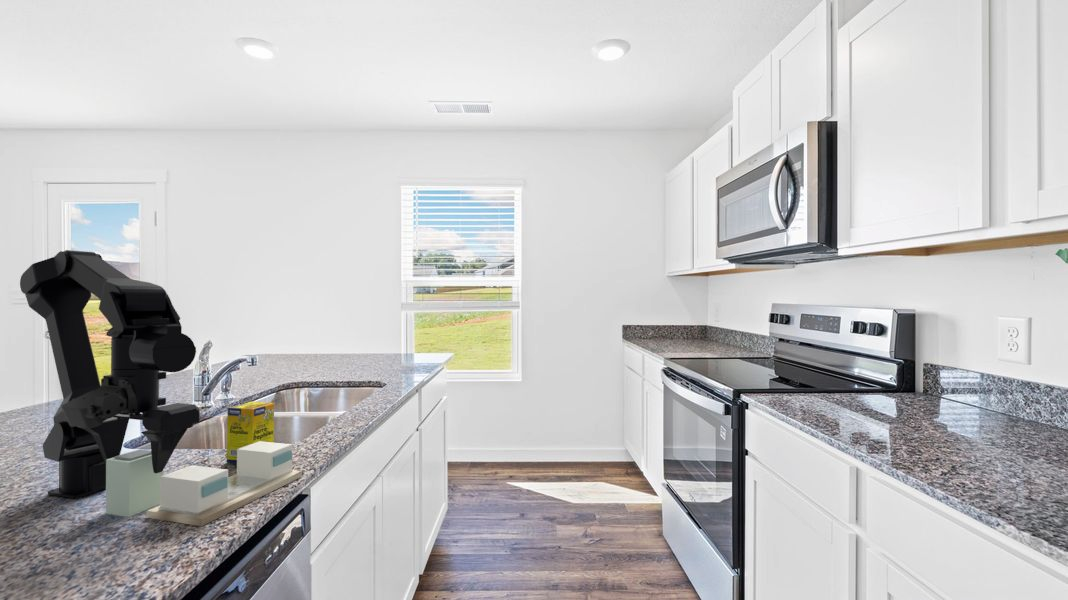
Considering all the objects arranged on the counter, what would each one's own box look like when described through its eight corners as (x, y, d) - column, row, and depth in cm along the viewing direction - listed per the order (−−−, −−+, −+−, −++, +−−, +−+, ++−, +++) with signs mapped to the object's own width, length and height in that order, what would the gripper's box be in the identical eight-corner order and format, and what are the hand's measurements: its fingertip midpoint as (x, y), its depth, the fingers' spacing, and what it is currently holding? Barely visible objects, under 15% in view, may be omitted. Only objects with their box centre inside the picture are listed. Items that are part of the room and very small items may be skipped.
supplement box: (252, 466, 94) (252, 408, 94) (225, 463, 95) (226, 407, 95) (274, 456, 100) (275, 402, 100) (249, 454, 101) (249, 400, 101)
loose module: (105, 513, 73) (106, 457, 73) (140, 500, 78) (140, 447, 78) (128, 517, 72) (129, 460, 72) (162, 503, 77) (162, 450, 77)
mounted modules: (160, 507, 72) (160, 476, 72) (259, 465, 90) (259, 441, 90) (200, 513, 70) (200, 481, 70) (293, 469, 88) (294, 444, 88)
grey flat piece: (158, 510, 72) (158, 507, 72) (260, 467, 90) (260, 465, 90) (196, 516, 70) (196, 513, 70) (292, 471, 88) (292, 468, 88)
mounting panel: (146, 517, 72) (146, 510, 72) (255, 471, 91) (255, 465, 91) (201, 526, 69) (201, 519, 69) (301, 476, 88) (301, 471, 88)
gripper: (25, 371, 69) (24, 482, 69) (127, 378, 65) (125, 497, 65) (111, 361, 80) (110, 457, 80) (203, 367, 75) (202, 468, 75)
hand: (134, 469), depth 75 cm, fingers open, 9 cm apart
